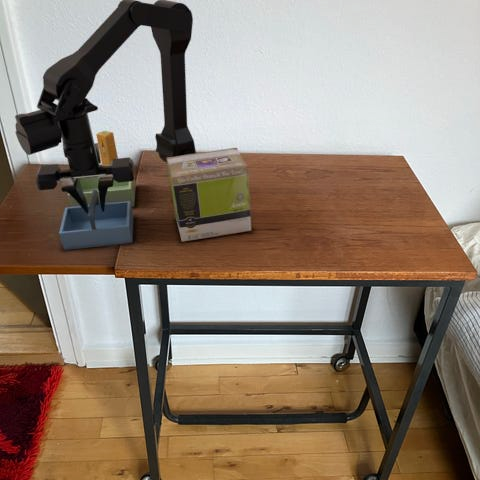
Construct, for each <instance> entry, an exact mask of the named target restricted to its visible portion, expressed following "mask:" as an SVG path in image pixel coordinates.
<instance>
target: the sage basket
mask: <svg viewBox="0 0 480 480" xmlns="http://www.w3.org/2000/svg"><path fill="white" fill-rule="evenodd" d="M98 183H99V179H98V177H91V178H81V179H80V184H81V188H82V190H83V193H84V196H85V198H86V201H87V204H88V205H90V202H91V196H92V191H93V190H97V191H98ZM136 187H137V185H136V179H135V178H134V180H133V181H130V182H120V183H118V182H116V181H115V180H114V183H113V186H112V187H109V188H108V190H107V194H106V199H105V203H115V202H124V201H130V202H131V207H132V208H135V202H136V201H135V200H136ZM134 188H135V190H134ZM67 197H68V200H69V205H70V207H75V206H80V205H79V203H78V202H77V201H76V200H75V199H74V198H73V197H72V196H71V195H70V194H69V193H68V192H67ZM98 198H99V191H98ZM133 202H134V203H133ZM99 203H100V198H99Z"/></svg>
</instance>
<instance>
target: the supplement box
mask: <svg viewBox="0 0 480 480" xmlns="http://www.w3.org/2000/svg"><path fill="white" fill-rule="evenodd" d="M96 140H97V143H98V146H99V152H100V158H101V166H104V165H112V162H113V159H118V158H119V157H118V151H117V147H116V146H117V145H116V140H115V135H114V132H113V131H107V130H102V131H99V132H98V133H96Z"/></svg>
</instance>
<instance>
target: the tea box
mask: <svg viewBox="0 0 480 480" xmlns="http://www.w3.org/2000/svg"><path fill="white" fill-rule="evenodd" d="M166 167H167V171H168V179H169V185H170V192H171V198H172V205H173V210H174V216H175V220H176V225H177V228H178V232H179V236H180V239H181V240H180V241H181V242H183V243H184V242H189V241H196V240H201V239H207V238H215V237H221V236H226V235H233V234H238V233H245V232H252V216H251V200H250V198H251V197H250V184H249V169H248V165H247V163H246V162H245V160H244V158H243V156H242V154H241V152H240V151H239V149H238V147H230V148H229V147H228V148H224V149H223V148H222V149H217V150H211V151H202V152H196V153H195V154H189V155H182V156H176V157H168V158H167V163H166Z"/></svg>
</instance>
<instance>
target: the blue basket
mask: <svg viewBox="0 0 480 480" xmlns="http://www.w3.org/2000/svg"><path fill="white" fill-rule="evenodd" d="M88 209H89V213H86V212H85V211H84V209H83V208H82V207H81V206H75V207H71V206H67V207H65V208H64V211H63V215H62V220H61V223H60V226H59V227H60V228H59V231H58V235H59V238H60V243H61V246H62V249H63V251H69V250H79V249H87V248H88V249H89V248H97V247H98V248H99V247H107V246H115V245H125V244H133V239H134V237H133V236H134V212H133V207H131V202H130V201H124V202H115V203H105V209H104V212H102V209H101V206H100V203H99V198H98V191H97V190H93V191H92V196H91V202H90V205H88Z"/></svg>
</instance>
